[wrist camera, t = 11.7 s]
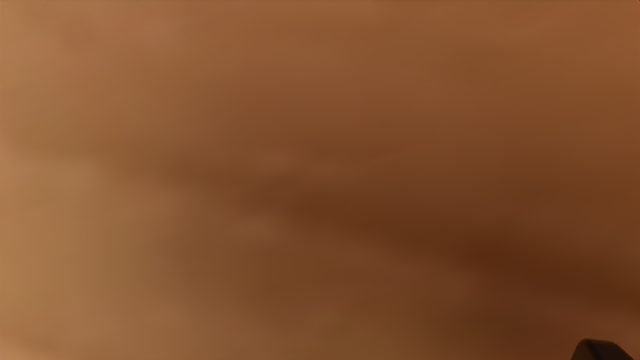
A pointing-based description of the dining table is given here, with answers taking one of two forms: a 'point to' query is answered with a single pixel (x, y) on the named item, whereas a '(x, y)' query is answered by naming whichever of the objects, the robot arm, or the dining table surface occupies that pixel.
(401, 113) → the dining table surface
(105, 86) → the dining table surface
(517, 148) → the dining table surface
